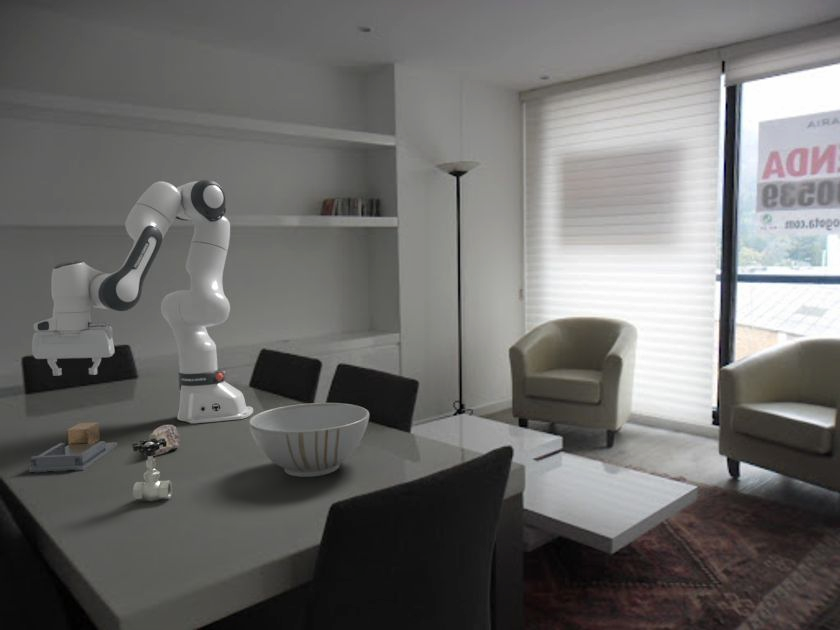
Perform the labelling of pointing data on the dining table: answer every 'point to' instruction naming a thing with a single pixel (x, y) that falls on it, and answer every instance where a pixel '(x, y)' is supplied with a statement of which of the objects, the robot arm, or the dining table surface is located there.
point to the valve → (151, 473)
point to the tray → (70, 456)
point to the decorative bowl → (309, 436)
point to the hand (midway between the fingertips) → (75, 374)
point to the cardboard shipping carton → (84, 433)
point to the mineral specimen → (166, 438)
